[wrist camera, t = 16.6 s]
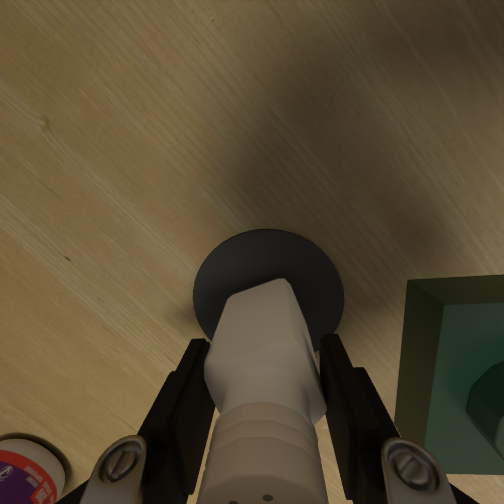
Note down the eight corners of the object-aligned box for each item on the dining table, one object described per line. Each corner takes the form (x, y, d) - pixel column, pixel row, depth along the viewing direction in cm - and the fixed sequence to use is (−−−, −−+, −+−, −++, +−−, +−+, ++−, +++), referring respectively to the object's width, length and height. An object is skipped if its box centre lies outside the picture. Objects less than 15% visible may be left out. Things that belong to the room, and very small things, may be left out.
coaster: (183, 235, 15) (180, 236, 15) (343, 222, 14) (345, 223, 14) (206, 363, 18) (204, 367, 17) (341, 360, 17) (343, 364, 16)
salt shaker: (250, 345, 15) (221, 579, 6) (225, 293, 14) (148, 479, 5) (308, 327, 15) (372, 560, 6) (286, 271, 14) (318, 442, 5)
